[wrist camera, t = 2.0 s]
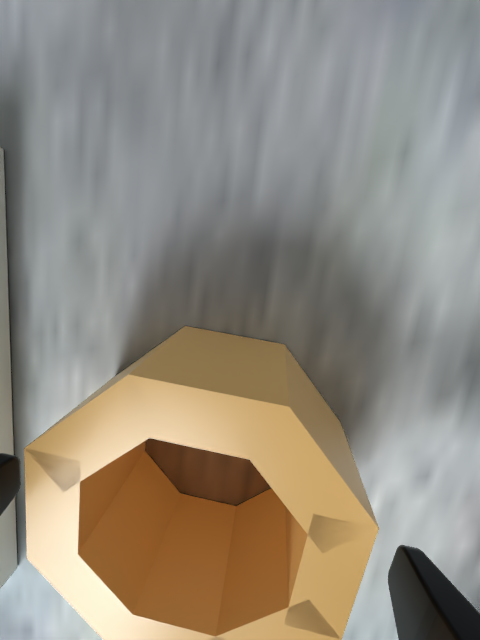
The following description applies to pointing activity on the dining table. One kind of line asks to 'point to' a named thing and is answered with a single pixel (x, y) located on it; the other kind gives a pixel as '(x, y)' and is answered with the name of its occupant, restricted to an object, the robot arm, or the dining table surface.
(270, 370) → the collar
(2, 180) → the shaft board
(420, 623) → the robot arm
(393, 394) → the dining table surface
